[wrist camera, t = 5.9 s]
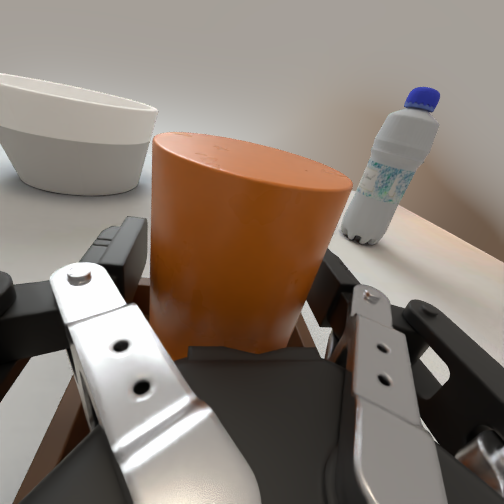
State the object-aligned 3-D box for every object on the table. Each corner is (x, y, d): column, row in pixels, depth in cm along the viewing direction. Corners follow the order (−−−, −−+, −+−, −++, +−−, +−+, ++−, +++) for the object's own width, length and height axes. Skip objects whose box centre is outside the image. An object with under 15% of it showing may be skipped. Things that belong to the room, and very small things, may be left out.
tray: (349, 523, 10) (383, 496, 9) (14, 586, 8) (-17, 561, 6) (279, 317, 20) (290, 287, 19) (120, 310, 17) (118, 275, 16)
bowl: (174, 178, 45) (178, 111, 40) (112, 217, 28) (105, 109, 23) (67, 152, 45) (57, 81, 39) (-61, 176, 28) (-108, 57, 23)
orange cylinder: (251, 470, 11) (377, 211, 5) (121, 426, 11) (97, 137, 5) (268, 356, 16) (340, 164, 10) (179, 329, 16) (199, 128, 11)
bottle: (333, 224, 42) (390, 83, 33) (372, 234, 42) (441, 96, 32) (340, 241, 36) (412, 76, 27) (386, 253, 36) (475, 91, 27)
